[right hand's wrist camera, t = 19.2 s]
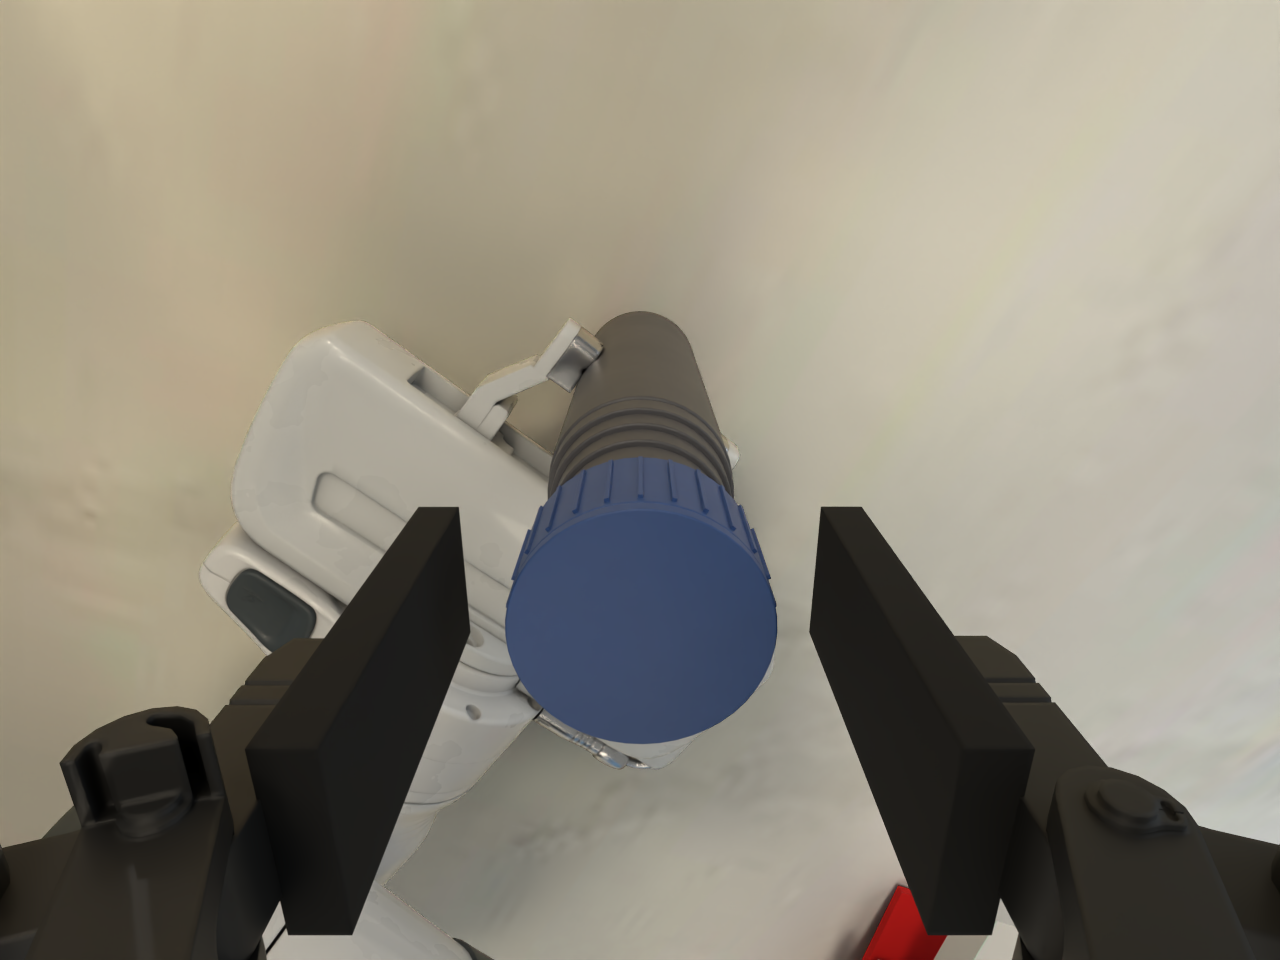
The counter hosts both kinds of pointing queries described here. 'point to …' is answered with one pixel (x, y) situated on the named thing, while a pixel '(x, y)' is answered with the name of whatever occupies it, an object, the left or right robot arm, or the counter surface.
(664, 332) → the bottle
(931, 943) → the toy
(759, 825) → the counter surface
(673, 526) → the cap
